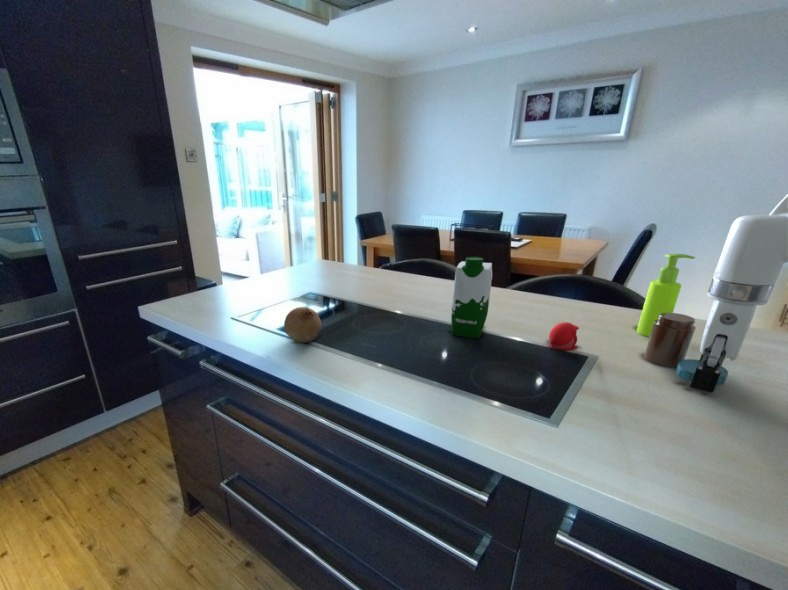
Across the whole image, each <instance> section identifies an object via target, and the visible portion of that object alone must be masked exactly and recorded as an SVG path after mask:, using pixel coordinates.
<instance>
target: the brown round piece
mask: <svg viewBox="0 0 788 590" xmlns="http://www.w3.org/2000/svg"><path fill="white" fill-rule="evenodd" d="M283 322H284V323H283V326H284V332H285V334H286V335H287V336H288V337H289V338H290V339H291V340H293V342H294V343H303V344H306V343H309V342H312V341H314V340H315V339H316V338H317V337H318V336H319V334H320V332H321V329H322V320H321V318H320V316H319V314H318V312H316V311H315V310H314V309H312V308H310V307H306V306H298V307H295V308H293V309H291V310H290V311H289V312H288V313H287V314H286V316H285V319H284V321H283Z"/></svg>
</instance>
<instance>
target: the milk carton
mask: <svg viewBox="0 0 788 590" xmlns="http://www.w3.org/2000/svg"><path fill="white" fill-rule="evenodd" d="M492 280H493V263H492V262H484V258H483V257H480V256H468V257H466V258H465V261H460V262H459V263H458V264H457V266H456V268H455V273H454V282H453V289H452V291H453V292H452V303H451V304H452V305H451V313H450V314H451V316H450V318H451V319H450V320H451V321H450V322H451V336H455V337H464V338H472V339H480V338H481V336H482V333H483V329H484V327H485V323H486V321H487V317H488V313H489V306H490V297H491V291H492Z"/></svg>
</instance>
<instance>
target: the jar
mask: <svg viewBox="0 0 788 590" xmlns="http://www.w3.org/2000/svg"><path fill="white" fill-rule="evenodd" d="M695 324H696V319H695V318H694V317H693V316H689V315H686V314H683V313H677V312H673V313H661V314H659V317H658V320H655V321H654V325H653V328H652V331H651V335H650V337H648V341H647V345H646V349H645V352H644V355H643V358H644V359H645V360H646V362H647V361H648V362H649V363H652V364H653V365H658V366H662V367H666V368H667V367H668V368H677V366H678V363H679V362H680V361H682V360H686V357H687V355H688V351H689V348H690V345H691V343H692V340H693V337H694V334H695V331H696V326H695Z"/></svg>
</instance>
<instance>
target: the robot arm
mask: <svg viewBox="0 0 788 590" xmlns="http://www.w3.org/2000/svg"><path fill="white" fill-rule="evenodd" d="M785 263H788V193H787V194H786V195H785V196H784V198H782V200H780V202H779V203H777V204H776V206H775V207H774V208H773V210H772V211H770V213H769V214H747V215H742V216H738V217H737V218H736V219H734V221H733V222H732V223H731V225H730V228H729V231H728V234H727V236H726V239H725V242H724V245H723V248H722V251H721V253H720V257H719V259H718V262H717V264H716V268H715V270H714V273H713V277H712V279H711V282H710V284H709V287H708V290H707V293H706V296H707V297H708V298H710V299H712V300H713V303H712V306H711V308H710V310H709V311H710V312H709V314H708V316H707V317H708V318H707V320H706V324H705V326H704V330H703V333H702V338H701V343H700V349H699V353H701V355H700V358H699V360H701V363H700V366H699V367H697V368H696V371H695V374H694V376H693V379H692V382H690V385H689V386H690V388H692V389H695V390H699V391H702V392H707V393H709V394H710V393H714V391H715V389H716V387H717V386H716V384H717V381H718V379H719V376H720V374H721V372H720V369H721V367H723V364H724V361H725V360H726V359H730V361H735V360H737V359H738V357H739V353H740V351H741V349H742V346H743V343H744V341H745V339H746V336H747V334H748V332H749V329H750V327H751V324H752V321H753V318H754V316H755V312H756V309H757V306H764V305H768V302H769V300H770V297H771V295H772V292H773V289H774V288H775V285H776V283H777V281H778V278H779V275H780V273H781V271H782V268H783V266H784V264H785Z"/></svg>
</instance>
